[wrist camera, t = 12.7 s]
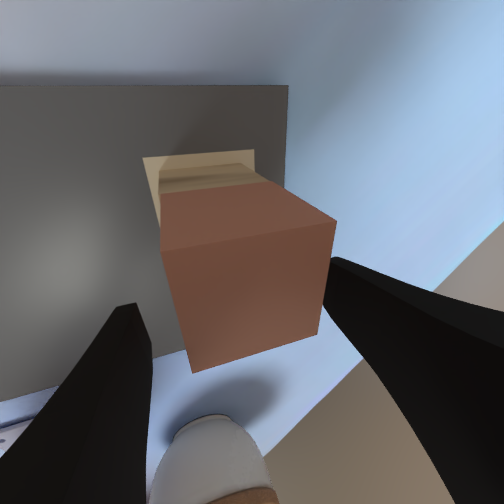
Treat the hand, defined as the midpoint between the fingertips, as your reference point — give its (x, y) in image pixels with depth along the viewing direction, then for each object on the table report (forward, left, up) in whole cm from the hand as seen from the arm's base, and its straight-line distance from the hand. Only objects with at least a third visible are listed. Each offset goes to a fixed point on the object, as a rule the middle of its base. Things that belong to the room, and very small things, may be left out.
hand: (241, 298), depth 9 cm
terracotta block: (+1, 0, -3) cm, 3 cm away
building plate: (-2, +6, -8) cm, 10 cm away
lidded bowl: (-28, +4, -8) cm, 29 cm away
